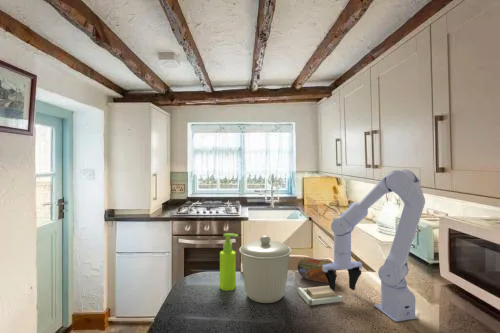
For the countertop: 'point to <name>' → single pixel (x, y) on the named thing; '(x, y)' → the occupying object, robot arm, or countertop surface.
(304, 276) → the tin
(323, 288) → the tan rectangular block
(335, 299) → the bracket
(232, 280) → the soap dispenser
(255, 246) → the canister
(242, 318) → the countertop surface
